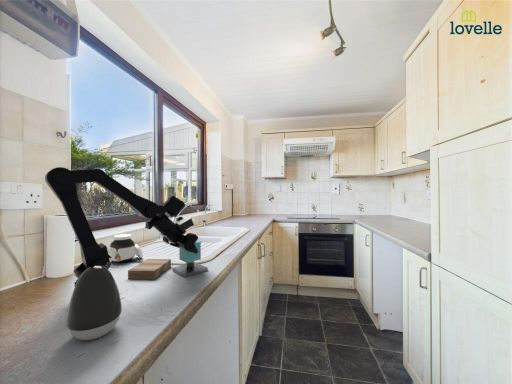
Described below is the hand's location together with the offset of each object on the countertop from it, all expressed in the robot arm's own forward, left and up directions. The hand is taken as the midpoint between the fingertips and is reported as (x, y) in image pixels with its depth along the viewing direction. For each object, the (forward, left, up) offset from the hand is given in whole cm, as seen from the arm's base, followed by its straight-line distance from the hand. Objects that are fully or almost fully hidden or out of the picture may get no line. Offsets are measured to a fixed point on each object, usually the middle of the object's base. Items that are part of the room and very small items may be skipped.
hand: (193, 251), depth 92 cm
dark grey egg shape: (-41, +9, -8) cm, 43 cm away
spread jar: (+12, +35, -8) cm, 38 cm away
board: (-3, +16, -8) cm, 18 cm away
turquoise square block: (-1, +1, -3) cm, 3 cm away
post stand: (-1, +1, -8) cm, 8 cm away
